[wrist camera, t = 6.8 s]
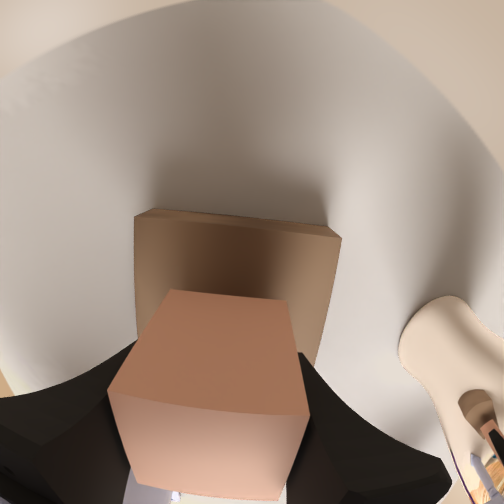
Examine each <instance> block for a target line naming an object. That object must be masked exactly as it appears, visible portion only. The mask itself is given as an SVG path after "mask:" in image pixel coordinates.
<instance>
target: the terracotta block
mask: <svg viewBox="0 0 504 504" xmlns="http://www.w3.org/2000/svg"><path fill="white" fill-rule="evenodd" d="M107 392H108V396H109V400H110V403H111V407H112V411H113V414H114V418H115V421H116V424H117V428H118V431H119V434H120V437H121V440H122V443H123V446H124V449H125V452H126V455H127V457H128V460H129V463H130V466H131V468H132V471H133V473H134V476H135V478H136V481H137V483H139V484H143V485H147V486H151V487H156V488H160V489H165V490H170V491H175V492H181V493H187V494H193V495H200V496H208V497H217V498H227V499H240V500H262V501H278V500H279V497H280V495H281V493H282V490H283V488H284V485H285V483H286V480H287V478H288V475H289V473H290V470H291V468H292V465H293V463H294V460H295V457H296V455H297V452H298V449H299V446H300V444H301V441H302V438H303V435H304V432H305V429H306V426H307V423H308V420H309V417H310V412H309V407H308V402H307V397H306V392H305V387H304V382H303V377H302V372H301V367H300V362H299V358H298V353H297V348H296V343H295V338H294V334H293V329H292V324H291V320H290V315H289V310H288V306H287V301H286V300H274V299H262V298H251V297H240V296H230V295H220V294H210V293H201V292H192V291H183V290H175V289H170V290H169V292H168V293H167V295H166V296H165V298H164V299H163V301H162V302H161V304H160V306H159V307H158V309H157V310H156V312H155V313H154V315H153V316H152V318H151V319H150V321H149V323H148V324H147V326H146V327H145V329H144V330H143V332H142V334H141V335H140V337H139V338H138V340H137V342H136V343H135V345H134V346H133V348H132V350H131V351H130V353H129V355H128V356H127V358H126V359H125V361H124V363H123V364H122V366H121V368H120V369H119V371H118V373H117V374H116V376H115V378H114V379H113V381H112V383H111V384H110V386H109V388H108V389H107Z"/></svg>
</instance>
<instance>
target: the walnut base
mask: <svg viewBox="0 0 504 504" xmlns="http://www.w3.org/2000/svg"><path fill="white" fill-rule="evenodd" d="M341 241H342V238H341V237H340V236H339V235H338V234H336V233H335V232H334V231H333V230H332V229H330V228H329V227H327V226H319V225H311V224H303V223H294V222H286V221H277V220H268V219H259V218H250V217H240V216H230V215H220V214H210V213H199V212H188V211H177V210H165V209H151V210H149V211H146V212H144V213H142V214H139V215H137V216H135V217H134V283H135V305H136V321H137V334H138V338H139V337H140V335H141V334H142V332H143V330H144V329H145V327H146V326H147V324H148V323H149V321H150V319H151V318H152V316H153V315H154V313H155V312H156V310H157V309H158V307H159V306H160V304H161V302H162V301H163V299H164V298H165V296H166V295H167V293H168V292H169V290H170V289H175V290H183V291H192V292H201V293H210V294H220V295H230V296H240V297H251V298H262V299H274V300H286V301H287V306H288V310H289V315H290V320H291V324H292V329H293V334H294V338H295V343H296V348H297V352H302V353H303V354H304V355H305V357H306V358H307V359H308V361H309V362H310V363H311V365H312V366H313V367H314V364H315V360H316V356H317V353H318V349H319V345H320V341H321V337H322V333H323V328H324V324H325V320H326V316H327V311H328V307H329V302H330V298H331V293H332V288H333V284H334V279H335V274H336V269H337V263H338V258H339V253H340V247H341Z"/></svg>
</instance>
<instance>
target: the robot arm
mask: <svg viewBox="0 0 504 504" xmlns="http://www.w3.org/2000/svg"><path fill="white" fill-rule="evenodd" d="M137 340H138V339H137ZM137 340H136V341H134V342H133V343H132V344H130V345H129V346H127V347H126V348H124V349H123V350H121V351H120V352H118V353H117V354H115V355H114V356H112V357H111V358H109V359H108V360H106V361H105V362H103V363H101V364H99V365H98V366H96V367H94V368H93V369H91V370H89V371H87V372H85V373H84V374H82V375H79V376H77V377H75V378H73V379H71V380H68V381H66V382H64V383H61V384H58V385H55V386H52V387H49V388H46V389H43V390H40V391H36V392H32V393H28V394H23V395H18V396H12V397H4V398H0V504H170V502H171V501H174V502H180V499H181V498H180V493H179V492H175V491H170V490H165V489H160V488H156V487H151V486H147V485H143V484H139V483H137V481H136V478H135V476H134V473H133V471H132V468H131V466H130V463H129V460H128V457H127V455H126V452H125V449H124V446H123V443H122V440H121V437H120V434H119V431H118V428H117V424H116V421H115V418H114V414H113V411H112V407H111V403H110V400H109V396H108V392H107V389H108V388H109V386H110V384H111V383H112V381H113V379H114V378H115V376H116V374H117V373H118V371H119V369H120V368H121V366H122V364H123V363H124V361H125V359H126V358H127V356H128V355H129V353H130V351H131V350H132V348H133V346H134V345H135V343H136V342H137ZM297 353H298V358H299V362H300V367H301V372H302V377H303V382H304V387H305V392H306V397H307V402H308V407H309V412H310V417H309V420H308V423H307V426H306V429H305V432H304V435H303V438H302V441H301V444H300V446H299V449H298V452H297V455H296V457H295V460H294V463H293V465H292V468H291V470H290V473H289V475H288V478H287V480H286V492H287V504H436V503H437V502H438V501H439V500H440V499H441V498H443V497H444V495H445V494H446V493H447V492H448V491H449V489H450V487H451V485H452V479H451V477H450V475H449V473H448V471H447V469H446V468H445V466H444V464H443V462H442V460H441V458H438V457H435V456H432V455H430V454H427V453H424V452H421V451H419V450H416V449H414V448H412V447H409V446H407V445H405V444H403V443H401V442H399V441H397V440H395V439H394V438H392V437H390V436H388V435H387V434H385V433H383V432H382V431H380V430H379V429H377V428H376V427H374V426H373V425H371V424H370V423H369V422H367V421H366V420H364V419H363V418H362V417H361V416H359V415H358V414H357V413H356V412H355V411H353V410H352V409H351V408H350V407H349V406H348V405H347V404H346V403H345V402H343V401H342V400H341V399H340V398H339V397H338V396H337V395H336V393H335V392H334V391H333V390H332V389H331V388H330V387H329V386H328V384H327V383H326V382H325V381H324V380H323V379H322V377H321V376H320V375H319V374H318V372H317V371H316V370H315V368H314V367H313V366H312V365H311V363H310V362H309V361H308V359H307V358H306V357H305V355H304V354H303V353H302V352H297ZM484 504H504V503H503V501H502V499H501V497H500V496H497V497H495V498H493V499H491V500H490V501H488V502H486V503H484Z"/></svg>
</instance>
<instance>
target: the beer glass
mask: <svg viewBox="0 0 504 504" xmlns="http://www.w3.org/2000/svg"><path fill="white" fill-rule="evenodd" d="M398 356H399V360H400V363H401V365H402V366H403V368H404V369H405V370H406V371H407V372H408V373H409V374H410V375H411V376H412V377H413V378H415V379H416V380H417V381H418V382H419V383H420V384H421V385H422V386H423V387H424V389H425V390H426V391H427V393H428V394H429V396H430V398H431V400H432V402H433V404H434V407H435V409H436V412H437V415H438V418H439V421H440V424H441V427H442V430H443V433H444V436H445V439H446V443H447V446H448V449H449V452H450V455H451V458H452V461H453V464H454V466H455V469H456V472H457V475H458V477H459V479H460V481H461V483H462V485H463V488H464V490H465V492H466V494H467V496H468V498H469V499H470V501H471V503H472V504H484V503H486V502H488V501H490V500H491V499H493V498H495V497H497V496H500V497H501V499H502V501H503V503H504V339H503V338H501V337H500V336H498V335H496V334H495V333H493V332H492V331H490V330H489V329H488V328H487V327H486V326H485V325H483V324H482V322H481V321H480V320H479V319H478V318H477V316H476V315H475V314H474V312H473V311H472V310H471V308H470V307H469V306H468V305H467V303H466V302H464V301H463V300H462V299H460V298H458V297H455V296H442V297H439V298H436V299H434V300H432V301H430V302H429V303H427V304H426V305H424V306H423V307H422V308H421V309H420V310H419V311H418V312H417V313H416V314H415V315H414V316H413V317H412V318H411V320H410V321H409V322H408V324H407V325H406V327H405V329H404V331H403V333H402V335H401V338H400V341H399V346H398Z"/></svg>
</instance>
